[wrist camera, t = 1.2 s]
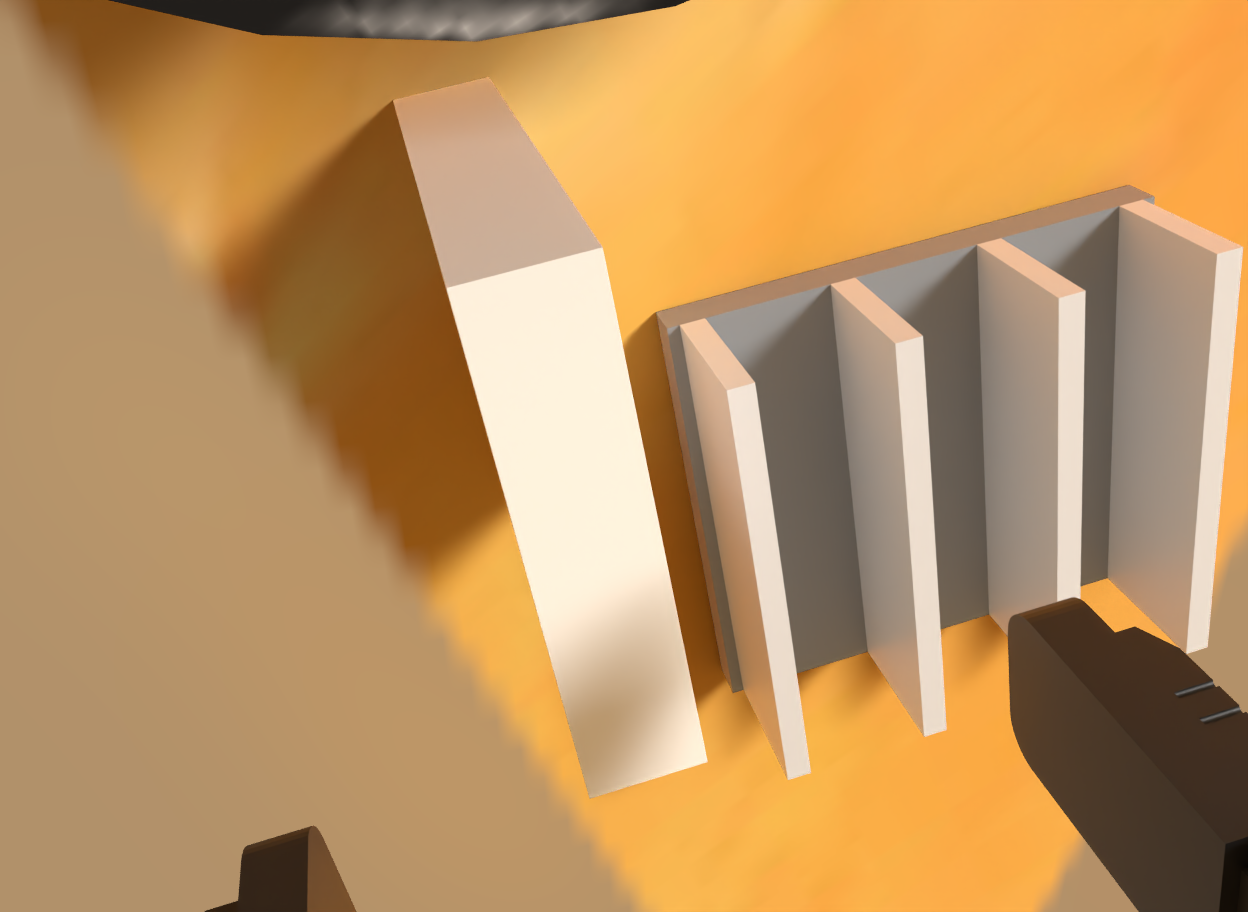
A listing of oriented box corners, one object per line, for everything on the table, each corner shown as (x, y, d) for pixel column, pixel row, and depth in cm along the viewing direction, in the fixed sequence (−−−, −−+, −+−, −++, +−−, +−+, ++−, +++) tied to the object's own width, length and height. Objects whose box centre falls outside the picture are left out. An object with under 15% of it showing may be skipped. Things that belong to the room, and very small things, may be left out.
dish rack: (655, 312, 28) (712, 394, 24) (1129, 185, 29) (1256, 243, 25) (722, 670, 33) (776, 783, 29) (1116, 549, 34) (1218, 643, 31)
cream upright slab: (392, 99, 24) (446, 288, 15) (488, 76, 24) (603, 247, 15) (497, 472, 29) (589, 798, 19) (577, 450, 29) (707, 761, 19)
